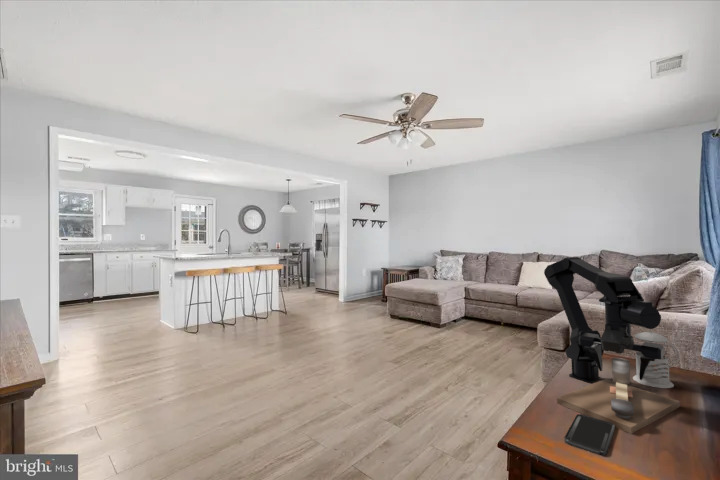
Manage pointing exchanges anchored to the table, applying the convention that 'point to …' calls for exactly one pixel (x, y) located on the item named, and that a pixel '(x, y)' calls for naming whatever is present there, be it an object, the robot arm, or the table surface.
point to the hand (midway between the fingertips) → (620, 375)
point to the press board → (601, 393)
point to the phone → (590, 434)
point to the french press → (654, 363)
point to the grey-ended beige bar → (621, 387)
